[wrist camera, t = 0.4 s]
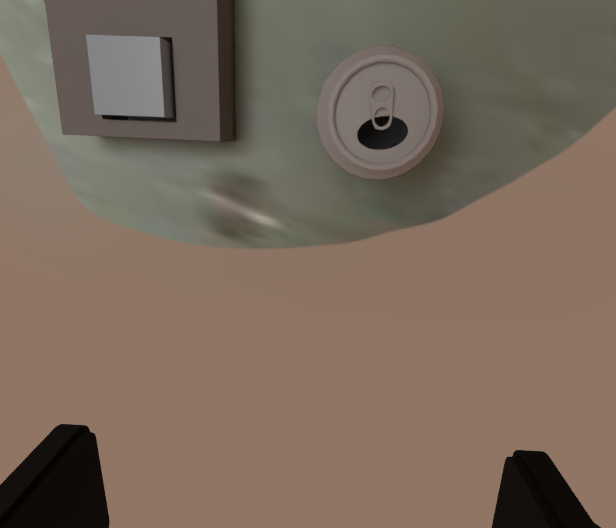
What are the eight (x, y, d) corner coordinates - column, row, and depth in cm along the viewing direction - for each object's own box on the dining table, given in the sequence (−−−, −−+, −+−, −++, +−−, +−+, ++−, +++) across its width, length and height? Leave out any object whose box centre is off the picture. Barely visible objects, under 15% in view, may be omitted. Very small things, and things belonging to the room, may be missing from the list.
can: (325, 171, 36) (322, 189, 24) (316, 78, 33) (307, 49, 22) (413, 161, 35) (452, 175, 23) (409, 65, 33) (451, 28, 21)
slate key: (116, 46, 31) (86, 34, 27) (180, 49, 31) (159, 36, 27) (122, 116, 33) (94, 114, 29) (184, 119, 32) (164, 117, 29)
